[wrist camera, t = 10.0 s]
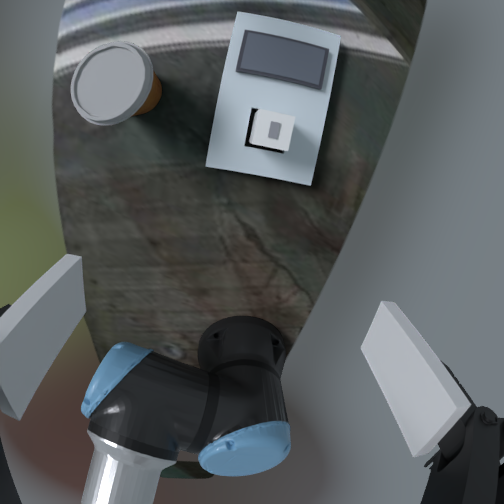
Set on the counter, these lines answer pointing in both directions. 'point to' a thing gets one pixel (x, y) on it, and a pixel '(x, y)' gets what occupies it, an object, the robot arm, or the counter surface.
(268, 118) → the block
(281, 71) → the phone
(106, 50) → the disposable coffee cup
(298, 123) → the outlet board
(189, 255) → the counter surface
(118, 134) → the counter surface
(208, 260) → the counter surface
